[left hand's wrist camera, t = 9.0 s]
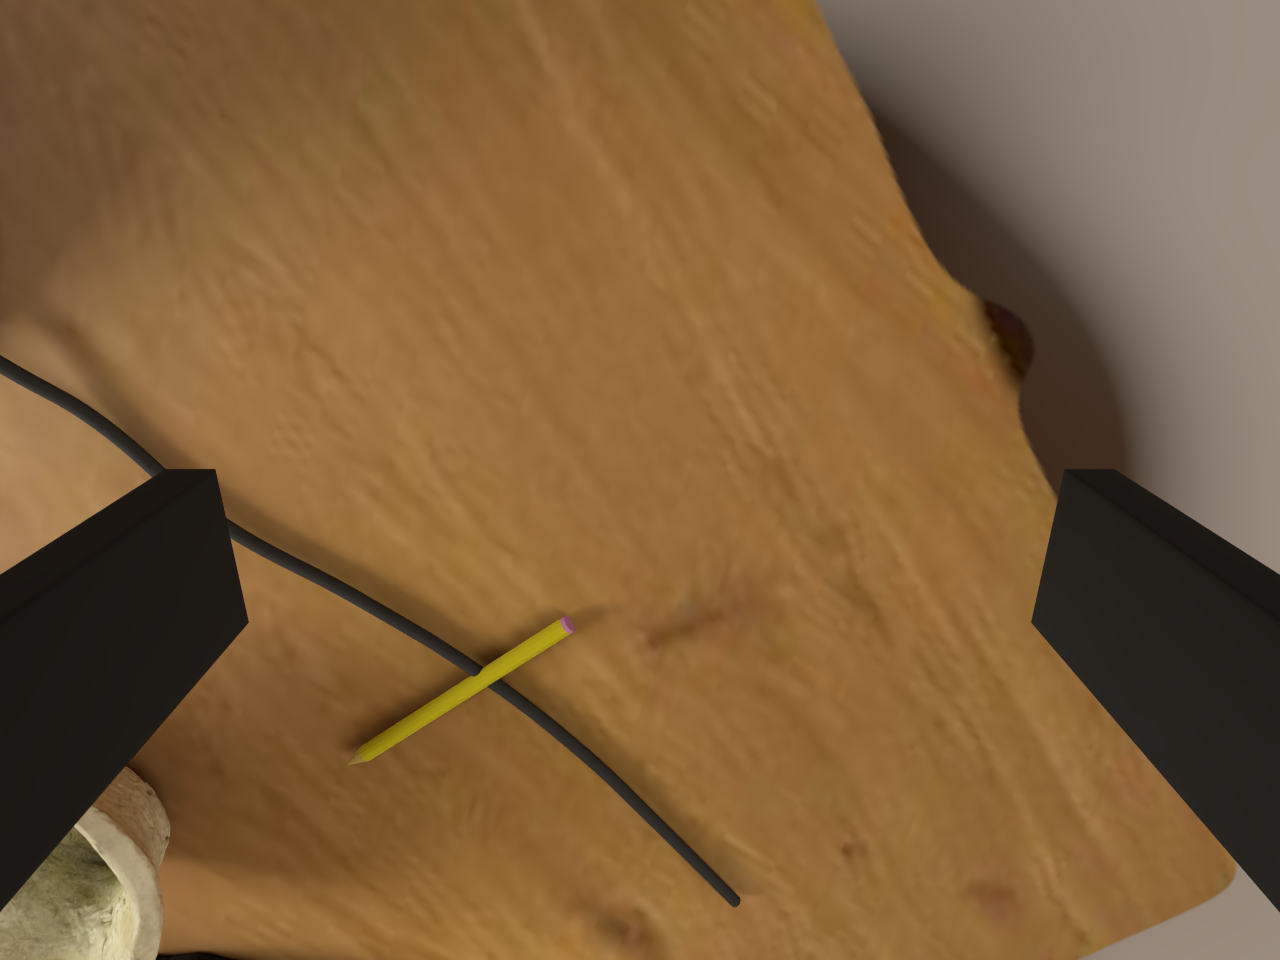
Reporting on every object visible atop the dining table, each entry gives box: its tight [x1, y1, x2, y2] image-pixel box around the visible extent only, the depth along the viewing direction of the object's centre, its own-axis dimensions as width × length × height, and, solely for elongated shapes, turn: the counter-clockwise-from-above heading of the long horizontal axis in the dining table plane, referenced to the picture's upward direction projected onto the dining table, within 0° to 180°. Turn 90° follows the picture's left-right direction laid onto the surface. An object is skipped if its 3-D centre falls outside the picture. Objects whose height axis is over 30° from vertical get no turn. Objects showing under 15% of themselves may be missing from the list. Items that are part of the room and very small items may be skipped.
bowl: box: [0, 766, 170, 960], centre depth 41 cm, size 14×18×15 cm
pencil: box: [347, 616, 575, 765], centre depth 44 cm, size 16×1×1 cm, turn 126°
